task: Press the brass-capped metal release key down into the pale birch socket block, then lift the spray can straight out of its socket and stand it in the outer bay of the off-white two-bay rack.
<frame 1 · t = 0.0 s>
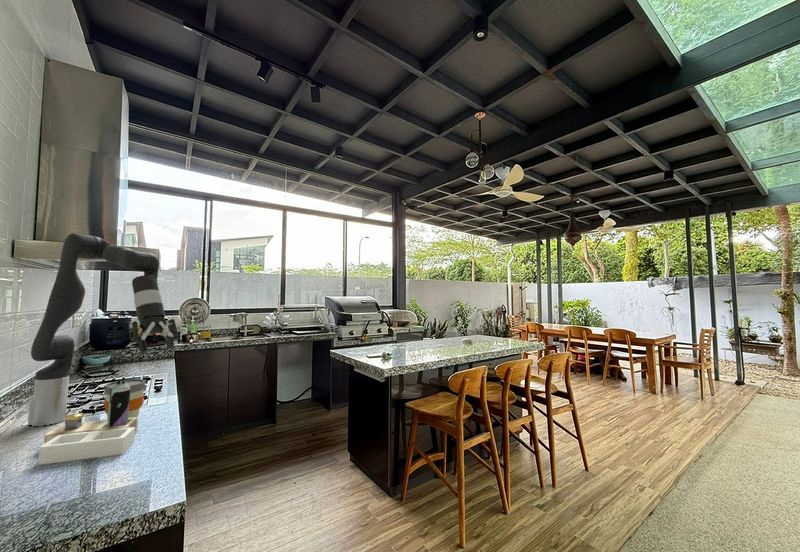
hand: (158, 350, 110), 31 cm above the worktop, tool tilted 20°, fingers open, 8 cm apart
spray can: (116, 438, 113), resting in socket block
socket block: (116, 437, 113), on the worktop
reusable coffee cup: (122, 422, 128), on the worktop
rack: (89, 452, 103), on the worktop
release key: (73, 423, 109), point 6 cm above the worktop, slide at 0.0 cm
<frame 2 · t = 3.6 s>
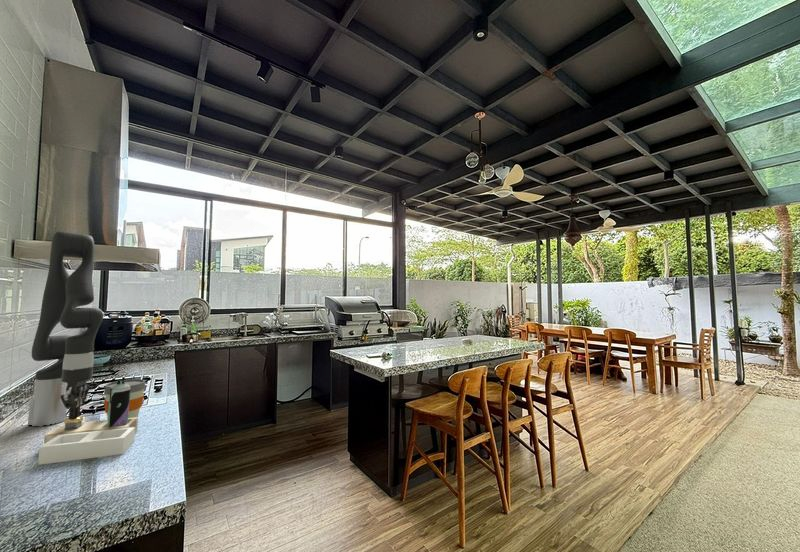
hand: (74, 418, 109), 8 cm above the worktop, tool pointing down, fingers closed
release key: (73, 426, 109), point 5 cm above the worktop, slide at 0.9 cm, touching gripper
everything else where it was.
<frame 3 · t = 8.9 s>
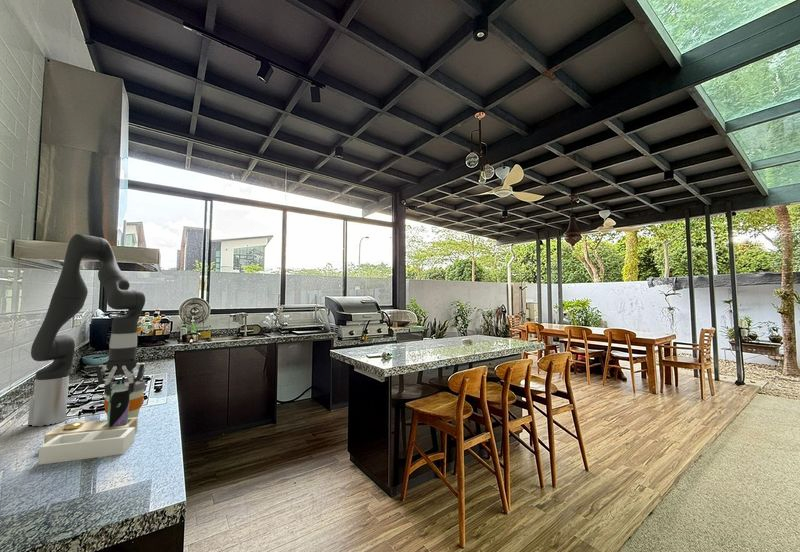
hand: (119, 394, 114), 15 cm above the worktop, tool pointing down, fingers closed on spray can, 5 cm apart
spray can: (116, 438, 113), resting in socket block, touching gripper
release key: (72, 432, 109), point 3 cm above the worktop, slide at 3.0 cm, touching socket block
everything else where it was.
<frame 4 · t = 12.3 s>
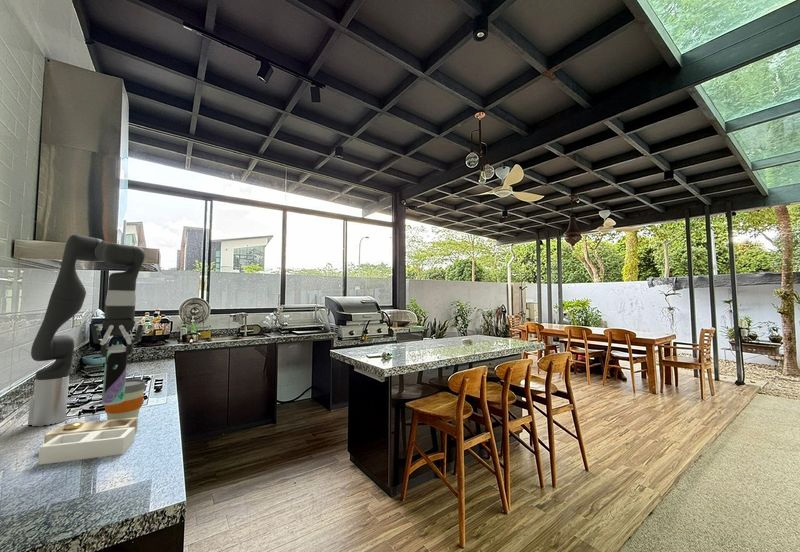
hand: (116, 355, 106), 30 cm above the worktop, tool pointing down, fingers closed on spray can, 5 cm apart
spray can: (112, 403, 105), point 15 cm above the worktop, touching gripper
everything else where it was.
when the fingers open (16 cm above the worktop, at t = 15.9 s): spray can drops 1 cm, resting in rack.
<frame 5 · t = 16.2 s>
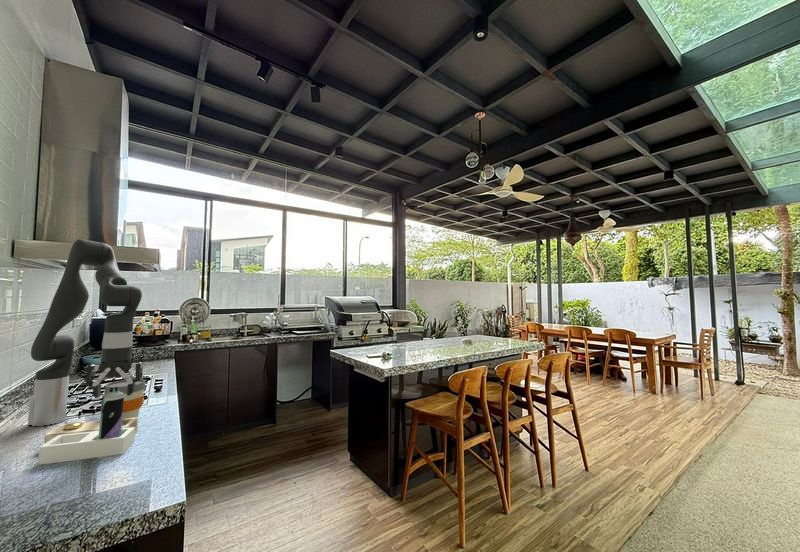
hand: (113, 396, 105), 17 cm above the worktop, tool pointing down, fingers open, 8 cm apart
spray can: (108, 451, 104), resting in rack
everything else where it was.
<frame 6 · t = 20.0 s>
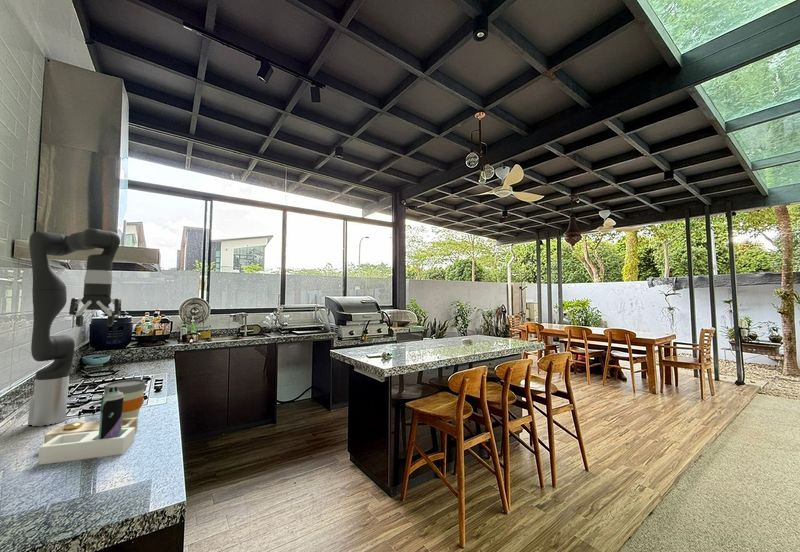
hand: (94, 326, 120), 38 cm above the worktop, tool pointing down, fingers open, 8 cm apart
nothing on the worktop moved.
at the end: spray can 0.2 cm from the target spot on the rack, point 0.0 cm above the rack's base; spray can tilted 0°; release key slide at 3.0 cm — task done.
